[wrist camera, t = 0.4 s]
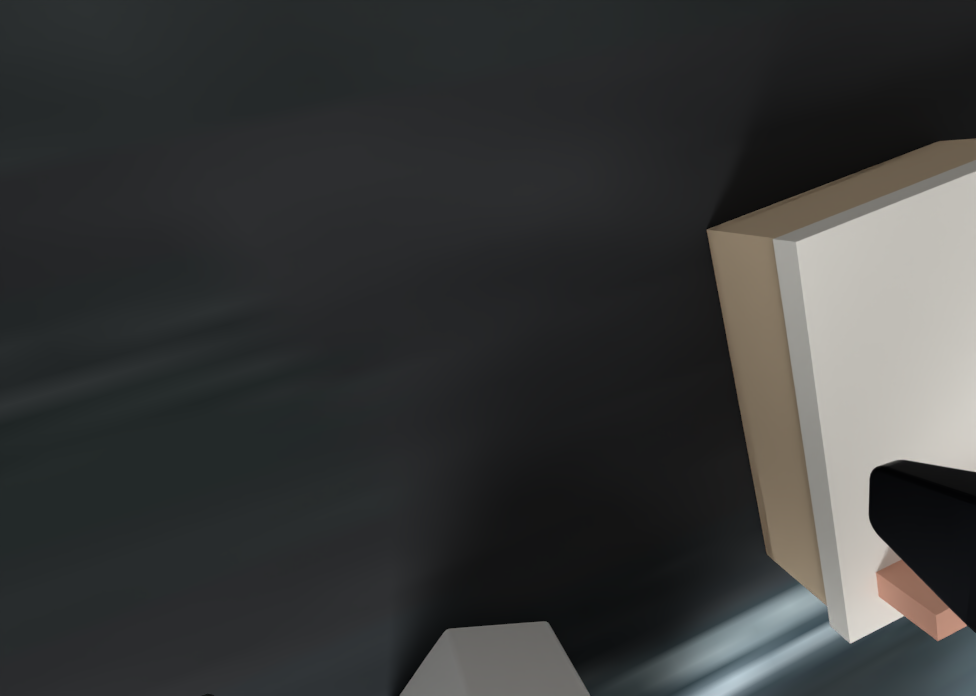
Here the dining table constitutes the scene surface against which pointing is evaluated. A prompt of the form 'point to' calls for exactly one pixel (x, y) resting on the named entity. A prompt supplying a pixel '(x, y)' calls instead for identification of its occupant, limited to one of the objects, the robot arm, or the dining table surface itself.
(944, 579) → the robot arm
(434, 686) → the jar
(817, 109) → the dining table surface
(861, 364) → the lid
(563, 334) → the dining table surface
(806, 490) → the beige open tray
